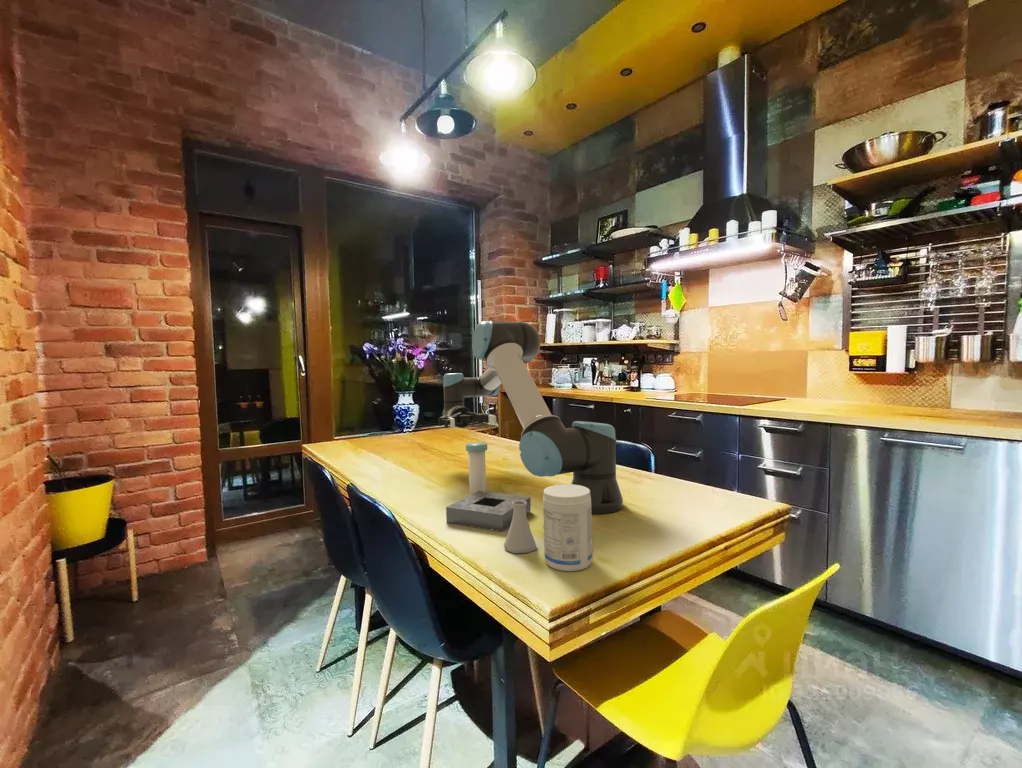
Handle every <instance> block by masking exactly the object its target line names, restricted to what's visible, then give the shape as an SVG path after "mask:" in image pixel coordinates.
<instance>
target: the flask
mask: <svg viewBox="0 0 1022 768" xmlns="http://www.w3.org/2000/svg"><path fill="white" fill-rule="evenodd" d="M512 504H513V506H514V512H513V518H512V522H511V525H510V527H509V528H508V532H507V535H506V536H505V537H506V538H505V541H504V544H503V547H504V550H505V551H507V552H510V553H512V554H526V553H527V554H528V553H531V552H533V551H535V550H537V549H538V547H537V544H536V541H535V539H534V536H533V534H532V530H531V527H530V523H529V521H528V517H527V515H526V506H527V502H526V501H523V500H518V501H513V502H512Z"/></svg>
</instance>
